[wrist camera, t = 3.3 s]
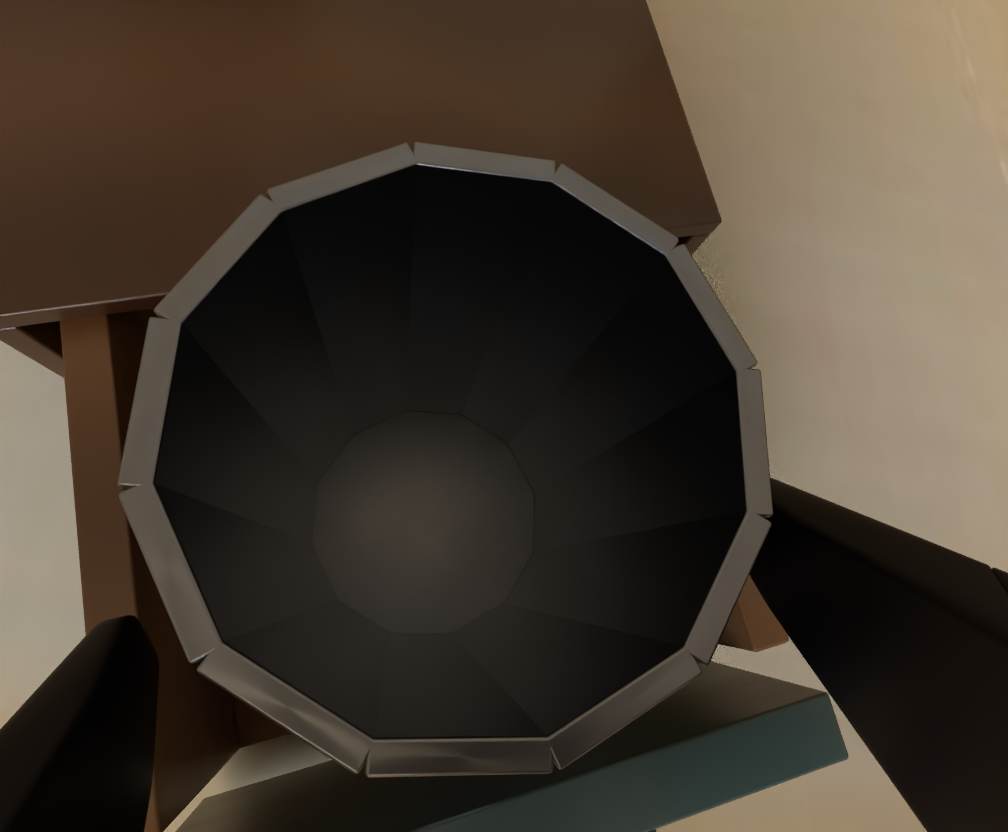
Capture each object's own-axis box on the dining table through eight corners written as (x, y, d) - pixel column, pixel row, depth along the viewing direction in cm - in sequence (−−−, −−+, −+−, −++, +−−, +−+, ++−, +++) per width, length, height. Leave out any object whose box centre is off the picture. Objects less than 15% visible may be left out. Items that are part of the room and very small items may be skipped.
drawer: (745, 865, 16) (938, 1023, 10) (234, 1065, 13) (111, 1430, 8) (585, 299, 20) (663, 184, 14) (153, 365, 17) (26, 256, 11)
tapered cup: (462, 693, 15) (592, 927, 5) (251, 558, 15) (-44, 521, 5) (581, 484, 17) (851, 348, 7) (395, 363, 17) (390, 50, 7)
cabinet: (607, 348, 20) (723, 221, 13) (146, 428, 17) (-36, 320, 10) (515, 26, 23) (568, -226, 16) (104, 46, 20) (-63, -254, 13)
